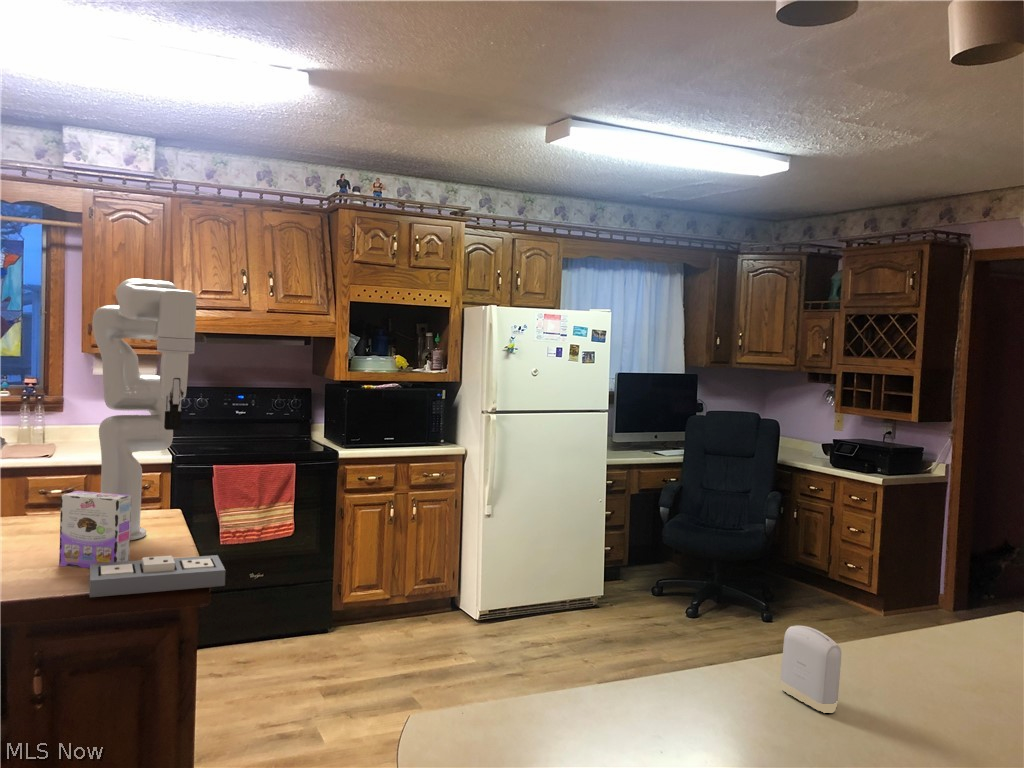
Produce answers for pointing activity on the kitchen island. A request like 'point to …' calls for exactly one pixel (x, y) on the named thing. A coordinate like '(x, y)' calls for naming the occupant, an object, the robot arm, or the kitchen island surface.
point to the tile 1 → (116, 569)
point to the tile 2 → (158, 564)
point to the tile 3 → (196, 564)
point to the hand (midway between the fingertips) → (172, 429)
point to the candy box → (94, 528)
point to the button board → (155, 578)
